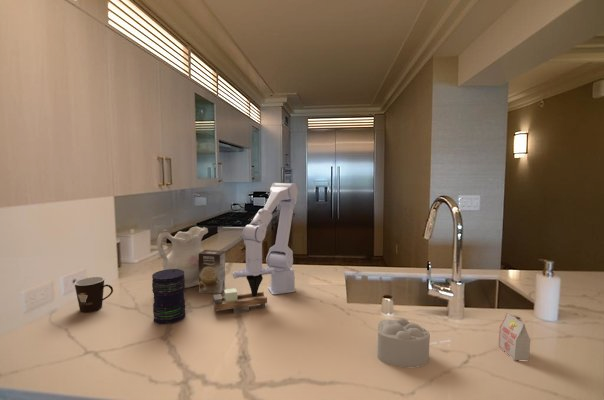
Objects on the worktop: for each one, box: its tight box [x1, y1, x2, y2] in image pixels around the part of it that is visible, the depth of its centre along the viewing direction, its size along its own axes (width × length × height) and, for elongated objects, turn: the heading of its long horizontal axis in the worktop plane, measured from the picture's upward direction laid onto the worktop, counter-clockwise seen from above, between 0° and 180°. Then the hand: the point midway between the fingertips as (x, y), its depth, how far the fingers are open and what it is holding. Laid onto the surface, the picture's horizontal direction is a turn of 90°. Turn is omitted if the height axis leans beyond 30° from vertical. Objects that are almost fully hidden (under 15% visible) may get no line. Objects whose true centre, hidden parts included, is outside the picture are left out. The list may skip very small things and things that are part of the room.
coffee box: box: [198, 249, 226, 295], centre depth 126 cm, size 9×6×16 cm
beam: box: [212, 291, 268, 314], centre depth 110 cm, size 18×6×5 cm, turn 111°
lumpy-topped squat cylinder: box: [376, 317, 431, 368], centre depth 83 cm, size 10×13×9 cm
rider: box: [223, 287, 238, 302], centre depth 108 cm, size 4×4×4 cm
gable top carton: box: [497, 312, 531, 361], centre depth 84 cm, size 4×7×10 cm, turn 179°
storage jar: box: [151, 269, 186, 326], centre depth 102 cm, size 10×10×15 cm
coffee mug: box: [74, 276, 114, 314], centre depth 108 cm, size 12×9×10 cm
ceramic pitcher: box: [156, 226, 209, 289], centre depth 133 cm, size 22×20×25 cm
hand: (254, 295), depth 111 cm, fingers closed
